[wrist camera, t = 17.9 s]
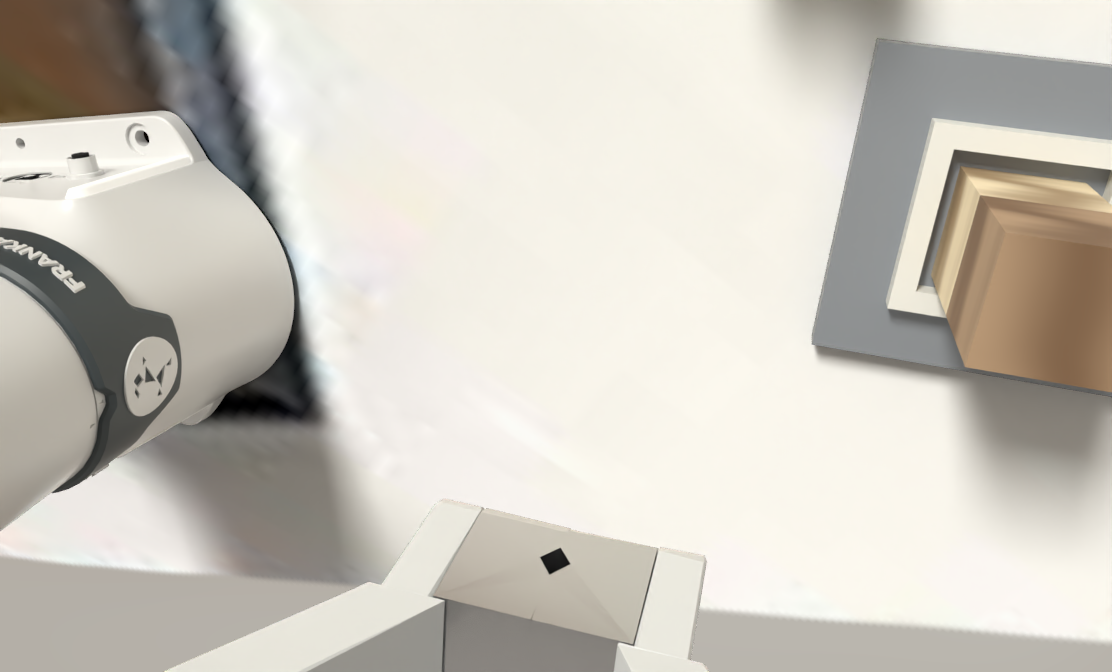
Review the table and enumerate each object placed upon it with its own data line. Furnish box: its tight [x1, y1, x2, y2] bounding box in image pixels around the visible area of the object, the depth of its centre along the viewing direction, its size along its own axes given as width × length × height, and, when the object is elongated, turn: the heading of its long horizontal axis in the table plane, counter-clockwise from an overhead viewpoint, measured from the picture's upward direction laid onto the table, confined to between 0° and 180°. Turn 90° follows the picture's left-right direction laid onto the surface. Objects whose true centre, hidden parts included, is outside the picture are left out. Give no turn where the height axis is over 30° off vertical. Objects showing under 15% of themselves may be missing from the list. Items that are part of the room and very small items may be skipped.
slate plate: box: [812, 39, 1112, 397], centre depth 40 cm, size 14×14×2 cm
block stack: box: [931, 166, 1112, 392], centre depth 35 cm, size 5×5×10 cm
